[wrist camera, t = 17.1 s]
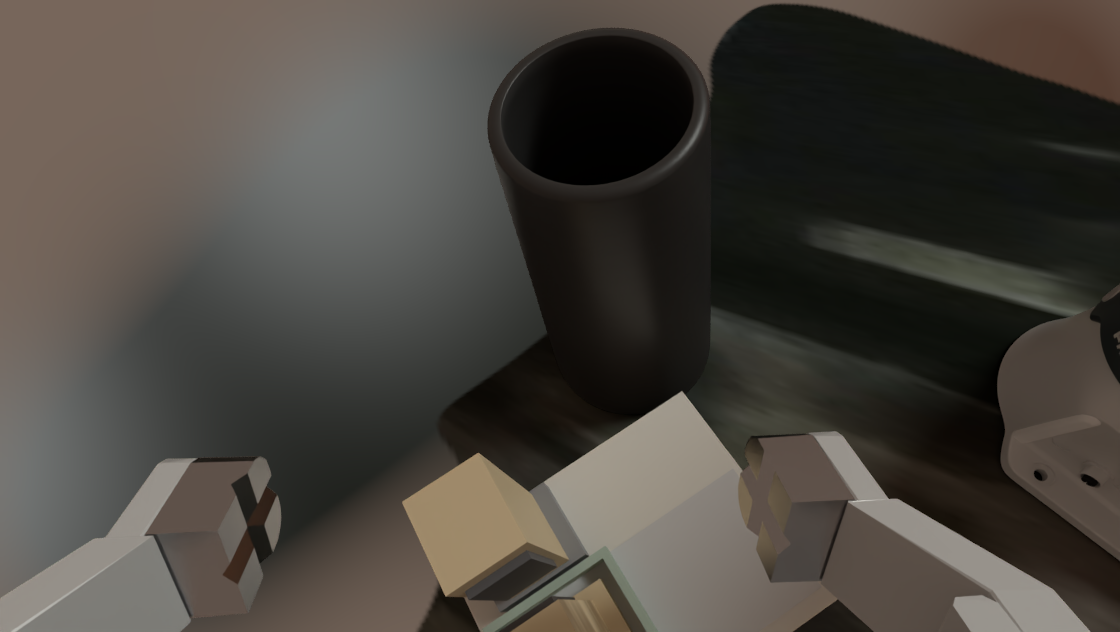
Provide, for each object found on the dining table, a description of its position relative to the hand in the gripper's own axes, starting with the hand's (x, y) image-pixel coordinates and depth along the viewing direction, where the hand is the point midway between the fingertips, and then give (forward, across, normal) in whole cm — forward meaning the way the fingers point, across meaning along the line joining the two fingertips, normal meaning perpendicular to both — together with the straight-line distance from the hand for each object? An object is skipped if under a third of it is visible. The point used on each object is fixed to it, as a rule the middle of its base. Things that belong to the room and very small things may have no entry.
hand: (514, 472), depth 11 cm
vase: (+38, +10, -21) cm, 45 cm away
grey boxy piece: (+23, +9, -33) cm, 40 cm away
